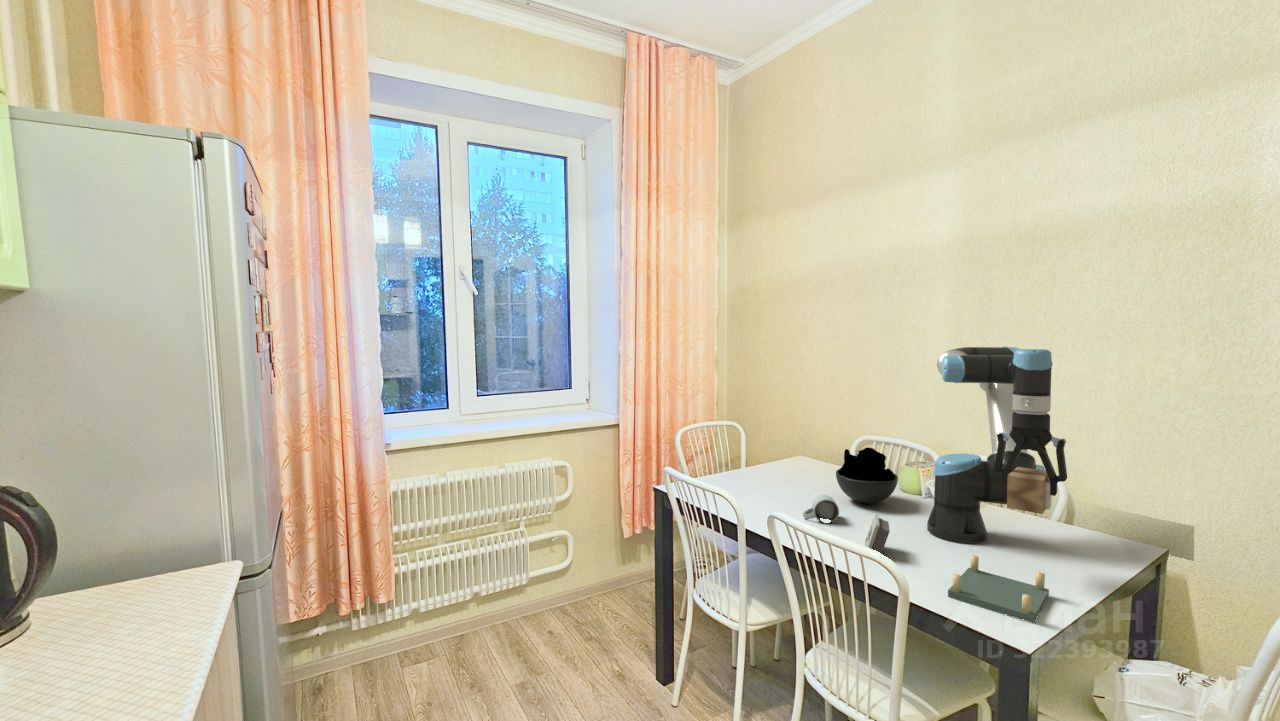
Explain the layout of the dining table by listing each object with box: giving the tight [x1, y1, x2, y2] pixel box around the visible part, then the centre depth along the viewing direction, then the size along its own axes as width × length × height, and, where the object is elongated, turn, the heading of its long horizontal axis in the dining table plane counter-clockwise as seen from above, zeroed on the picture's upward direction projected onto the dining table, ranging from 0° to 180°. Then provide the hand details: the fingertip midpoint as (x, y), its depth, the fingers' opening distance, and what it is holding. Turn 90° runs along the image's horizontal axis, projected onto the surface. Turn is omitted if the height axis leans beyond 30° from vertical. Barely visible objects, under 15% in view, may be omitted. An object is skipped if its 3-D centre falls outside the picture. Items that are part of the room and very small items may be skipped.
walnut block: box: [1006, 467, 1050, 515], centre depth 132 cm, size 7×11×8 cm, turn 134°
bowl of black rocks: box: [835, 447, 899, 505], centre depth 186 cm, size 20×20×19 cm
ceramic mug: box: [802, 494, 840, 523], centre depth 172 cm, size 11×8×8 cm
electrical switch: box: [864, 513, 891, 554], centre depth 146 cm, size 9×5×9 cm, turn 158°
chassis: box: [947, 554, 1050, 624], centre depth 121 cm, size 16×16×5 cm
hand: (1028, 504), depth 132 cm, fingers closed on walnut block, 7 cm apart
